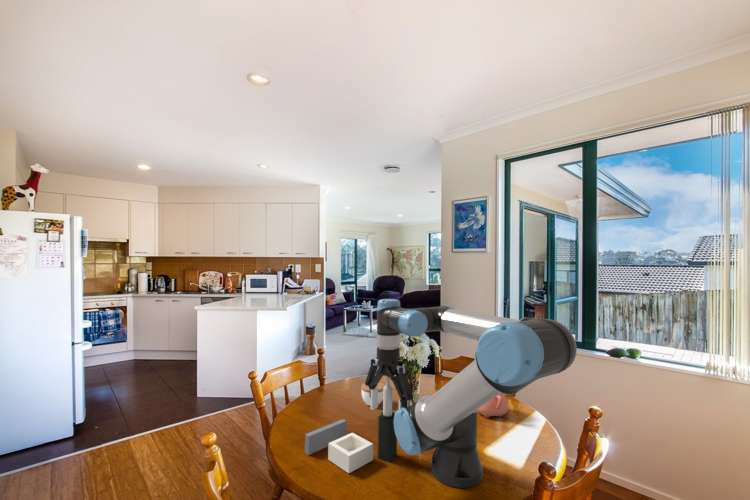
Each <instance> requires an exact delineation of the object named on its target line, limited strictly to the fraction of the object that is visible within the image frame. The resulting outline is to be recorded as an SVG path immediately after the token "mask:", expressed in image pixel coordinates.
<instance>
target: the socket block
mask: <svg viewBox="0 0 750 500" xmlns="http://www.w3.org/2000/svg"><path fill="white" fill-rule="evenodd" d="M327 450H328V451H327V454H328V455H327V457H328V458H327V460H328V461H330V462H331V463H333V464H334V465H335V466H336V467H339V468H340V469H342V470H343V471H344V472H346V473H347V474H350V473H352V472H354V471H356V470H358V469H360V468H361V467H363V466H365V465H366V464H368V463H370V462H372V461H373V460H374V443H372V442H370V441H368V440H367V439H365V438H363V437H361V436H359V435H357V433H354V432H351V433H347V435H346V436H343V437H341V438H339V439H337V440H335V441H332V442H330V443H328V447H327Z"/></svg>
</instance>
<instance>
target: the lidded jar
mask: <svg viewBox="0 0 750 500" xmlns="http://www.w3.org/2000/svg"><path fill="white" fill-rule="evenodd" d="M385 385H386V384H384V383H382V382H380V381H379V383H378V384H377V387H375V388H378V406H379V405H381V404H382V402H383V388H384V387H385ZM360 389H361V390H360V391H361V392H360V393H361V397H362V400H363V402H364V403H365V404H366V405H367V406H369V407H371V398H370V389H369V386H366V385H365V382H363V383H362V384H361V386H360Z"/></svg>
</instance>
